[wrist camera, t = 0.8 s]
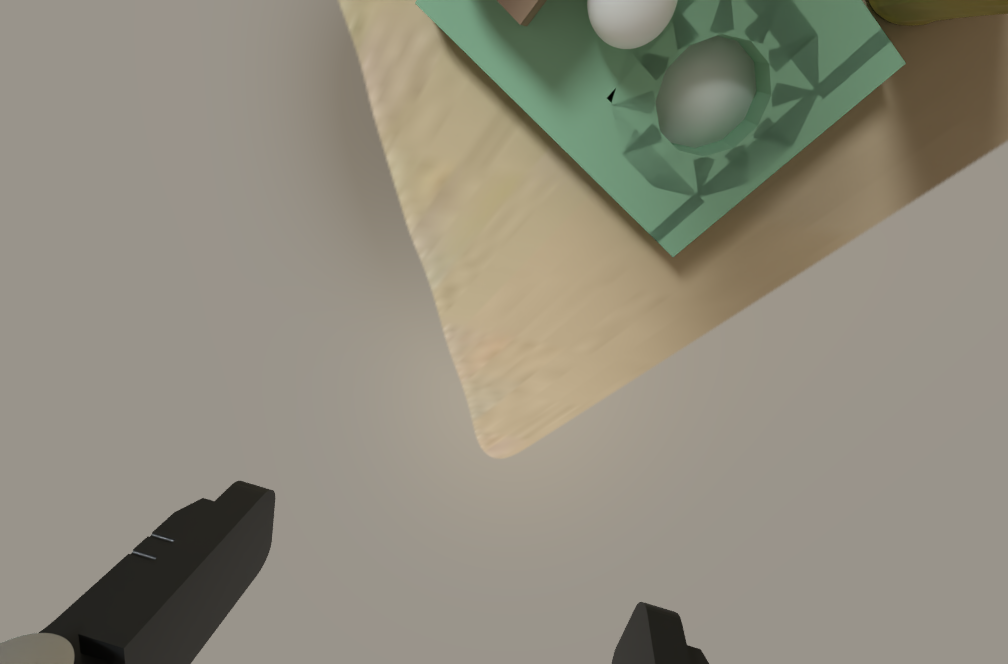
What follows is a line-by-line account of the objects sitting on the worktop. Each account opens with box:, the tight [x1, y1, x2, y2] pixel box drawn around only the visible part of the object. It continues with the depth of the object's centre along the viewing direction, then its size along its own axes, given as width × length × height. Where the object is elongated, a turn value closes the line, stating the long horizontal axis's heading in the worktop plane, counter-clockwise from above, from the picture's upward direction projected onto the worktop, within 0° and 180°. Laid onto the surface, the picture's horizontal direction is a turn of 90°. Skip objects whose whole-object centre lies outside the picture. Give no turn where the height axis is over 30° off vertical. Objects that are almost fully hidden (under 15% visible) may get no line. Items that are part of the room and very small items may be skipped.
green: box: [415, 0, 906, 257], centre depth 25 cm, size 20×14×2 cm
